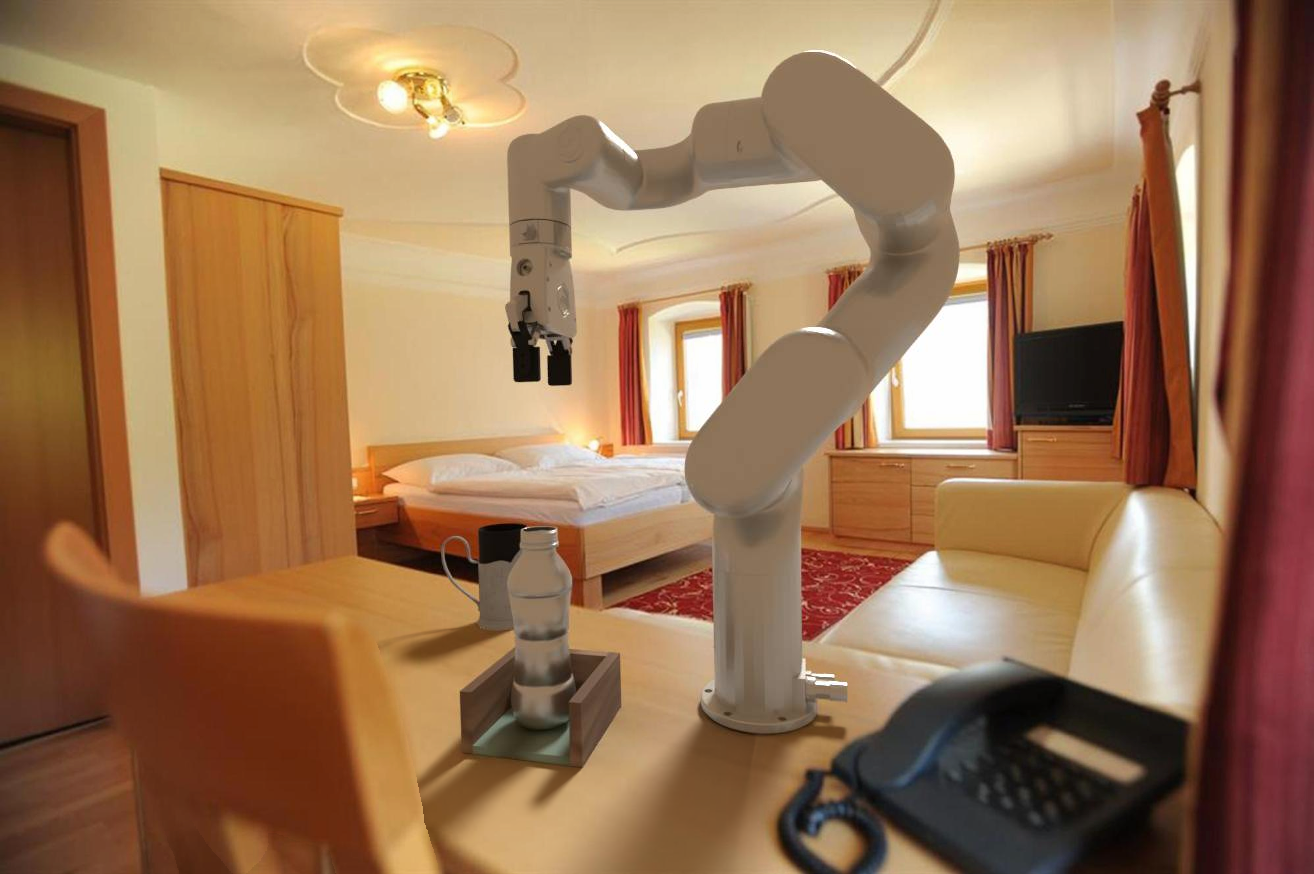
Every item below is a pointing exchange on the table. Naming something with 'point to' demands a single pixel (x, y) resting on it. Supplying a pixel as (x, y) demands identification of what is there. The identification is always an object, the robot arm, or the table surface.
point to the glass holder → (493, 572)
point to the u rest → (568, 744)
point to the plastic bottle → (541, 631)
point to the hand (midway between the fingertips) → (544, 383)
